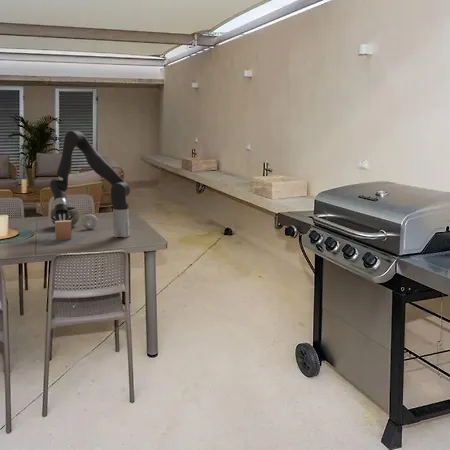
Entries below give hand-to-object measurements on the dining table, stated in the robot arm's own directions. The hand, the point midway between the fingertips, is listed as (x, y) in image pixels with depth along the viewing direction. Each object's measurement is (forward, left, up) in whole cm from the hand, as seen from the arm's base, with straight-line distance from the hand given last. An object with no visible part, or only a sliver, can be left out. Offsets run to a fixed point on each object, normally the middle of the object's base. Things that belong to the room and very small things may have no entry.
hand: (63, 230), depth 314 cm
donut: (-8, -32, -6) cm, 34 cm away
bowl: (+10, -39, -6) cm, 41 cm away
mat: (0, +1, -6) cm, 6 cm away
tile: (0, 0, -5) cm, 5 cm away
